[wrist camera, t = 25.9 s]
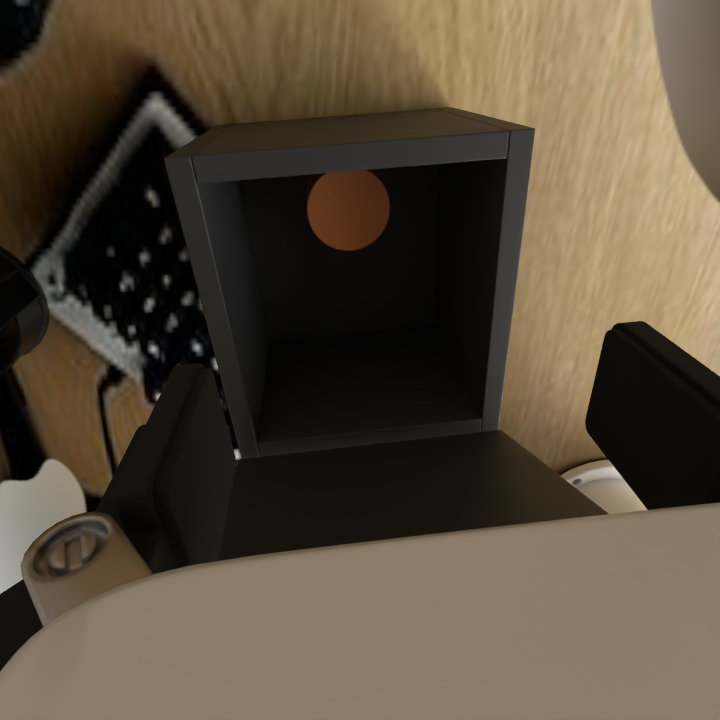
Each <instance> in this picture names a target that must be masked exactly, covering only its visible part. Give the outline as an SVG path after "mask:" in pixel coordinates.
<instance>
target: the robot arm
mask: <svg viewBox="0 0 720 720" xmlns="http://www.w3.org/2000/svg"><path fill="white" fill-rule="evenodd" d="M585 424H586V429H587V432H588V434H589V435H590V437H591V438H592V439H593V440H594V442H595V443H596V444H597V446H598V447H599V448H600V449H601V451H602V452H603V453H604V455H605V456H606V457H607V458H608V460H601V461H595V462H590V463H587V464H584V465H581V466H578V467H576V468H573V469H571V470H569V471H567V472H565V473H564V474H562V475H560V476H561V477H562V478H564V479H565V480H566V481H567V482H569V483H570V484H571V485H573V486H574V487H575V488H576V489H578V490H579V491H580V492H582V493H583V494H584V495H586V496H587V497H588V498H589V499H591V500H592V501H593V502H595V503H596V504H597V505H598V506H600V507H601V508H602V509H604V510H605V511H606V512H607V513H609V514H607V515H598V516H588V517H579V518H570V519H561V520H552V521H543V522H534V523H525V524H516V525H507V526H499V527H490V528H481V529H472V530H463V531H455V532H446V533H437V534H428V535H420V536H412V537H403V538H395V539H386V540H378V541H369V542H361V543H352V544H344V545H335V546H327V547H319V548H310V549H302V550H294V551H286V552H278V553H270V554H262V555H255V556H248V557H242V558H235V559H229V560H222V561H218V556H219V551H220V546H221V541H222V536H223V531H224V526H225V521H226V516H227V511H228V506H229V501H230V496H231V491H232V486H233V481H234V476H235V471H236V461H235V455H234V451H233V447H232V443H231V439H230V436H229V432H228V428H227V424H226V420H225V417H224V413H223V409H222V405H221V401H220V398H219V394H218V390H217V386H216V382H215V378H214V375H213V372H212V370H211V369H204V367H203V365H202V364H201V363H199V364H188V365H178V366H175V367H174V368H173V370H172V372H171V374H170V376H169V378H168V380H167V382H166V384H165V387H164V389H163V391H162V393H161V395H160V397H159V399H158V401H157V403H156V405H155V407H154V409H153V411H152V413H151V415H150V417H149V419H148V421H147V423H146V425H142V426H140V427H139V428H138V429H137V431H136V432H135V434H134V436H133V438H132V440H131V442H130V444H129V446H128V448H127V450H126V452H125V454H124V456H123V458H122V460H121V462H120V464H119V466H118V468H117V470H116V472H115V474H114V476H113V478H112V480H111V482H110V484H109V486H108V488H107V490H106V492H105V494H104V496H103V498H102V500H101V502H100V504H99V506H98V508H97V510H96V512H85V513H82V514H78V515H74V516H71V517H69V518H67V519H64V520H63V521H60V522H58V523H56V524H55V525H53V526H52V527H50V528H49V529H47V530H46V531H44V532H43V533H42V534H41V535H40V536H39V537H38V538H37V539H36V540H35V541H34V542H33V543H32V544H31V546H30V547H29V549H28V550H27V551H26V553H25V554H24V557H23V561H22V563H21V572H22V577H23V580H21V581H20V582H18V583H17V584H15V585H14V586H12V587H11V588H9V589H7V590H6V591H4V592H3V593H1V594H0V720H720V376H718V375H717V374H715V373H714V372H713V371H711V370H710V369H709V368H707V367H706V366H704V365H703V364H702V363H700V362H699V361H698V360H696V359H695V358H693V357H692V356H691V355H689V354H688V353H687V352H685V351H684V350H682V349H681V348H680V347H678V346H677V345H676V344H674V343H673V342H671V341H670V340H669V339H667V338H666V337H665V336H663V335H662V334H661V333H659V332H658V331H656V330H655V329H654V328H652V327H651V326H650V325H648V324H647V323H645V322H643V321H638V322H627V323H617V324H616V325H614V326H613V328H612V330H609V331H607V333H606V334H605V337H604V342H603V346H602V350H601V355H600V359H599V363H598V368H597V372H596V376H595V381H594V385H593V389H592V394H591V398H590V402H589V407H588V411H587V415H586V421H585Z"/></svg>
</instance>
